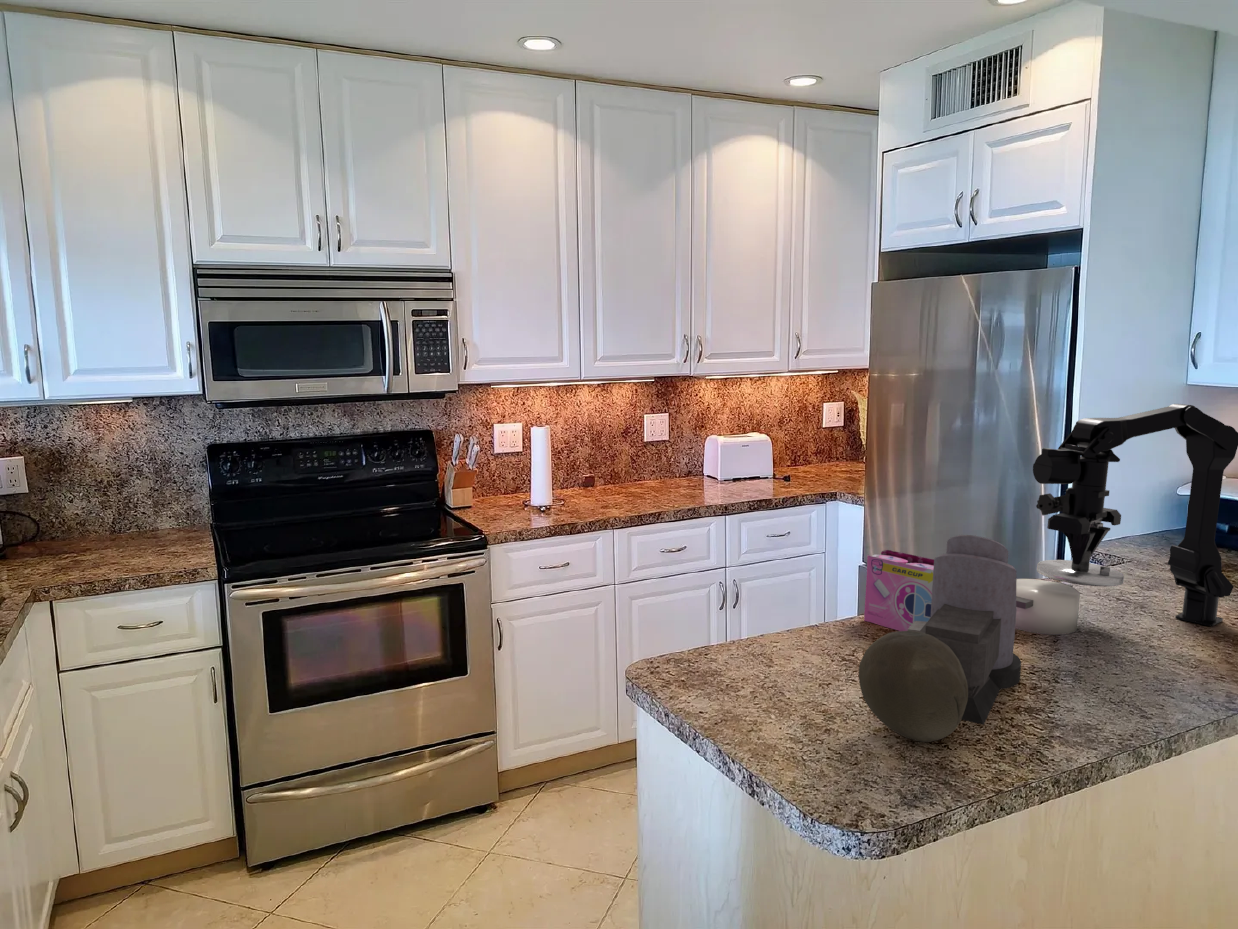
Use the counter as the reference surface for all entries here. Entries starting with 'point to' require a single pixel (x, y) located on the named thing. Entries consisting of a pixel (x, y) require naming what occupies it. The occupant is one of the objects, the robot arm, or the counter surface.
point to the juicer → (976, 617)
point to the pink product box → (898, 589)
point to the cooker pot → (1046, 607)
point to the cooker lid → (1080, 572)
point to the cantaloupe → (914, 685)
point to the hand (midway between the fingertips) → (1080, 562)
